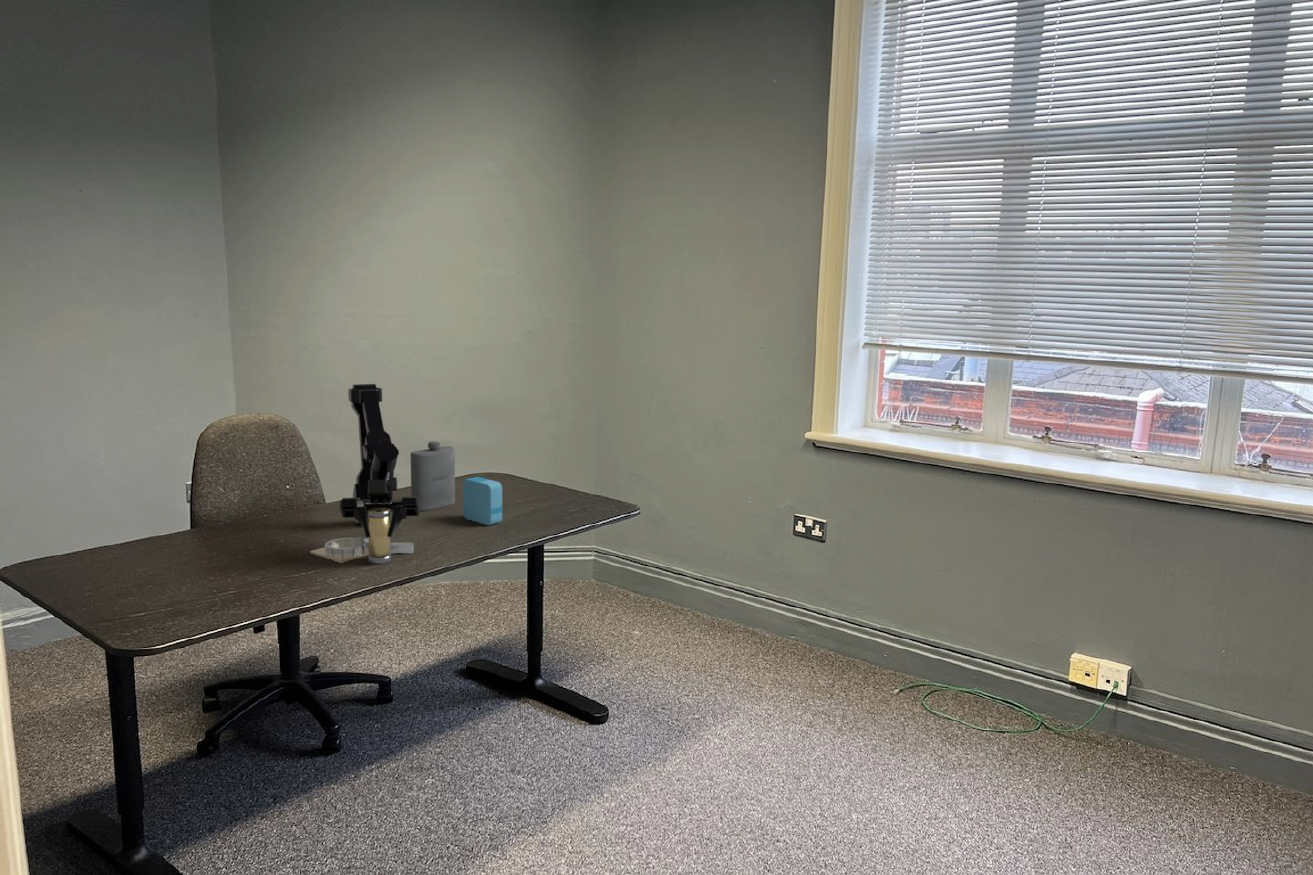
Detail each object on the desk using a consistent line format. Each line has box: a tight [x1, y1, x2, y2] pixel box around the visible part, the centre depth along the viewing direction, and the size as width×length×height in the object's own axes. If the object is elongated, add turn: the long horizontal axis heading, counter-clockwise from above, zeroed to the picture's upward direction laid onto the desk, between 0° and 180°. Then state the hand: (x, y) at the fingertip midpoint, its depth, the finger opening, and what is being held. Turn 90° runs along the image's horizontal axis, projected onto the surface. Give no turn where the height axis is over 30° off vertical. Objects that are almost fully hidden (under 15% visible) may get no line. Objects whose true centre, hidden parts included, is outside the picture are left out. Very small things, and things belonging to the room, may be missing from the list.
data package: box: [462, 476, 503, 526], centre depth 266 cm, size 12×4×12 cm, turn 51°
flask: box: [410, 440, 456, 512], centre depth 279 cm, size 15×6×20 cm, turn 141°
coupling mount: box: [309, 534, 414, 564], centre depth 238 cm, size 20×23×2 cm
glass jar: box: [367, 507, 392, 565], centre depth 229 cm, size 5×5×13 cm
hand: (378, 537), depth 227 cm, fingers closed on glass jar, 5 cm apart
